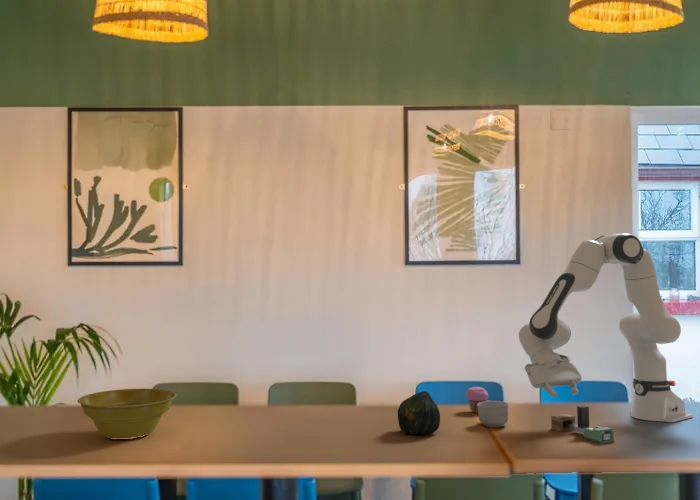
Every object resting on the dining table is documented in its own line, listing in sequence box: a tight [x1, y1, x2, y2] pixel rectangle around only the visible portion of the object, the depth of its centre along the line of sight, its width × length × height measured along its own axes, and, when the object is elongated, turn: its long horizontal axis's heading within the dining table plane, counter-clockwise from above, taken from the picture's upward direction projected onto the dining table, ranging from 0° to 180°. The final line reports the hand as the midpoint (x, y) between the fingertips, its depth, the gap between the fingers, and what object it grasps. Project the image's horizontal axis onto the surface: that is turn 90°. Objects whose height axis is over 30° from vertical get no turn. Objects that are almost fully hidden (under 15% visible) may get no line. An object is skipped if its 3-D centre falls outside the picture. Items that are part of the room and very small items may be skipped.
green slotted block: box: [583, 425, 615, 444], centre depth 207 cm, size 6×7×4 cm
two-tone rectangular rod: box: [569, 405, 610, 440], centre depth 211 cm, size 3×15×9 cm, turn 23°
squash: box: [397, 390, 441, 436], centre depth 219 cm, size 14×15×15 cm
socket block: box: [550, 413, 576, 432], centre depth 222 cm, size 7×4×4 cm, turn 113°
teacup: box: [477, 399, 509, 428], centre depth 230 cm, size 14×11×8 cm
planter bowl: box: [77, 388, 177, 438], centre depth 219 cm, size 32×32×13 cm
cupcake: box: [465, 386, 489, 414], centre depth 251 cm, size 9×9×10 cm
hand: (565, 394), depth 221 cm, fingers open, 8 cm apart
